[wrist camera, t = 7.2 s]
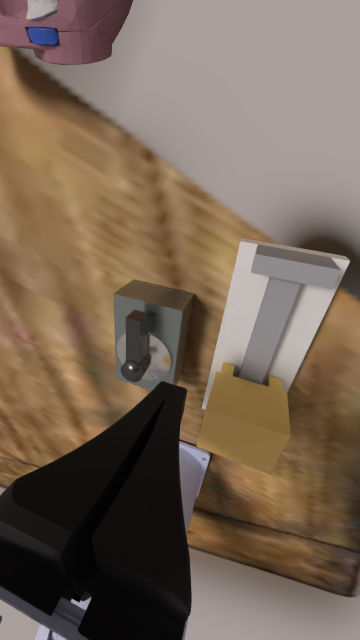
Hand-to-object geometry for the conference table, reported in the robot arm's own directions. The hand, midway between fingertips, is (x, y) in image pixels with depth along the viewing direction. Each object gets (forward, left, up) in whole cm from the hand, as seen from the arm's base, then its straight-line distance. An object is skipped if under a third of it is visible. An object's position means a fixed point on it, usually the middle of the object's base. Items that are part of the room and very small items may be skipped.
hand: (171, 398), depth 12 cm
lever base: (-2, +4, -8) cm, 9 cm away
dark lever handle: (-1, +4, -5) cm, 6 cm away
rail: (-1, -4, -8) cm, 9 cm away
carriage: (-4, -4, -7) cm, 9 cm away
